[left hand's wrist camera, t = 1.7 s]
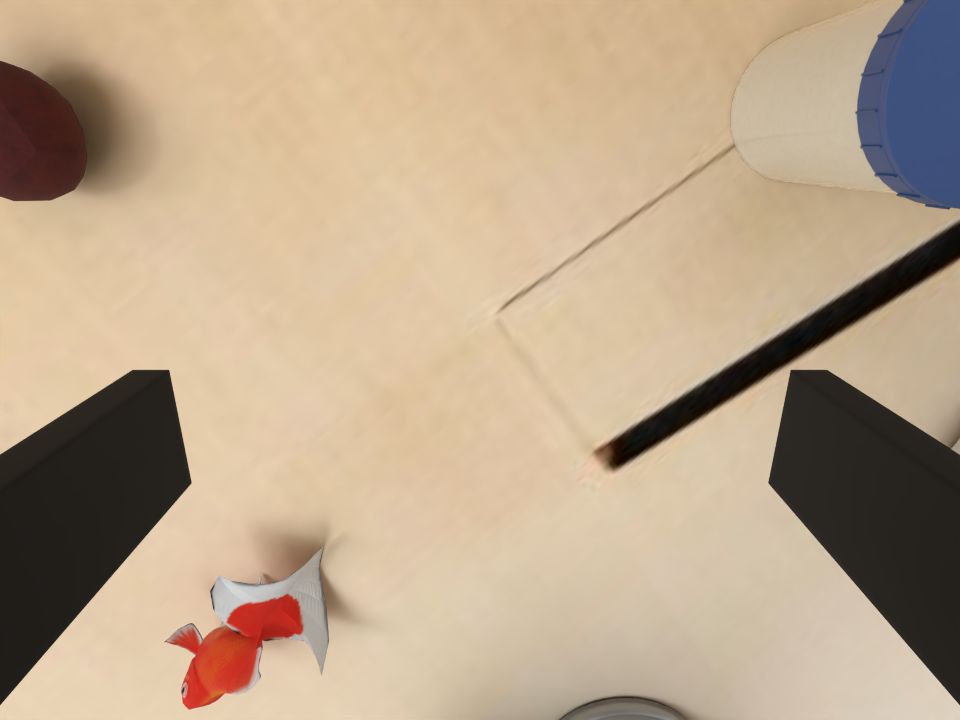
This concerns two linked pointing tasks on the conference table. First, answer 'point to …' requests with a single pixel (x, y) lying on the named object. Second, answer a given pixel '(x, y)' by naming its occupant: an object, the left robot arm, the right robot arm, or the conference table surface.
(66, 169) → the dark brown round piece
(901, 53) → the lid
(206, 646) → the fish
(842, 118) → the jar
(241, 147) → the conference table surface
